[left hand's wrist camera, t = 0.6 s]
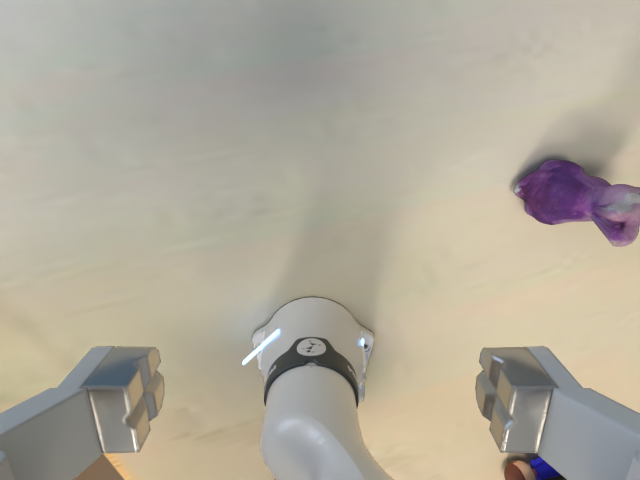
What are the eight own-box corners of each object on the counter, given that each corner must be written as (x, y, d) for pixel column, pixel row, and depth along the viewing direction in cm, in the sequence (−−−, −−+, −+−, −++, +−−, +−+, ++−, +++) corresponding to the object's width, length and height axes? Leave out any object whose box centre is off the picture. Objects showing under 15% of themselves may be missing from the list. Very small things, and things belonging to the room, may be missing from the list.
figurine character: (577, 428, 74) (496, 455, 74) (610, 463, 66) (520, 494, 66) (581, 456, 76) (502, 482, 76) (613, 493, 69) (526, 522, 69)
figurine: (607, 185, 57) (700, 219, 43) (542, 234, 60) (611, 281, 45) (569, 133, 55) (655, 151, 41) (504, 186, 57) (564, 220, 43)
